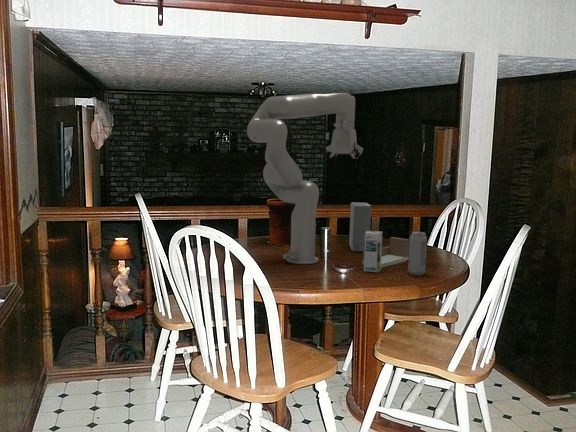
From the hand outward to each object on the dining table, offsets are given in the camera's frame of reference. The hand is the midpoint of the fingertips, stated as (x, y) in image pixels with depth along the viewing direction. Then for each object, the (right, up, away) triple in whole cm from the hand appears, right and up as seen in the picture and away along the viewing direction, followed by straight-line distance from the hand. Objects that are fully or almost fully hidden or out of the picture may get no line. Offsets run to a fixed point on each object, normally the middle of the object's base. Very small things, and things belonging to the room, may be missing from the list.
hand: (343, 168), depth 228 cm
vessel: (-26, -32, +26) cm, 49 cm away
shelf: (+16, -38, -10) cm, 42 cm away
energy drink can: (+23, -41, -29) cm, 55 cm away
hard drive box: (+8, -34, +17) cm, 39 cm away
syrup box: (+8, -40, -25) cm, 48 cm away
